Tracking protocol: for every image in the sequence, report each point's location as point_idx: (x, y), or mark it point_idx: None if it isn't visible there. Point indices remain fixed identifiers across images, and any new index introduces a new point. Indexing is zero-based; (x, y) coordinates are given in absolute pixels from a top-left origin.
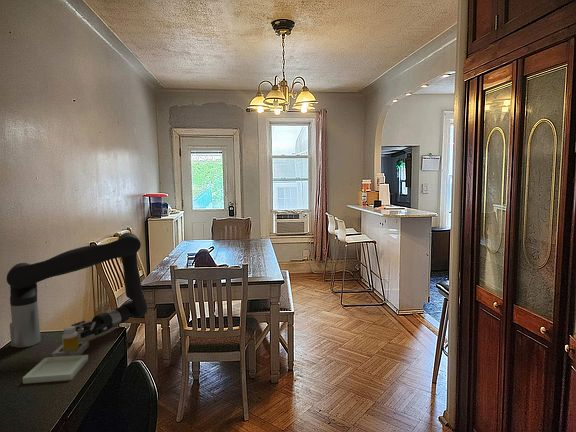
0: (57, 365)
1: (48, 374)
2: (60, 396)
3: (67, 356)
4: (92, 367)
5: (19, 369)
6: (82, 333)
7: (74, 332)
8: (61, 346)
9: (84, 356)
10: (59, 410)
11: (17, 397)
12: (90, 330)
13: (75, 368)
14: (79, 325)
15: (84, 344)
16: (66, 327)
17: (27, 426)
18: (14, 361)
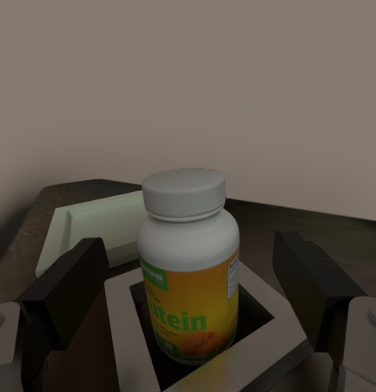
0: (134, 228)
1: (111, 198)
2: (58, 201)
3: (125, 241)
4: (10, 263)
5: (229, 210)
6: (84, 244)
7: (152, 221)
8: (264, 291)
9: (48, 259)
10: (45, 193)
11: (130, 189)
12: (12, 313)
13: (53, 219)
14: (344, 371)
15: (132, 375)
16: (213, 174)
17: (73, 182)
18: (301, 218)
